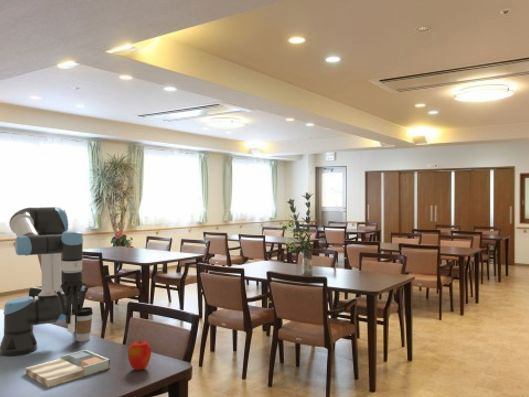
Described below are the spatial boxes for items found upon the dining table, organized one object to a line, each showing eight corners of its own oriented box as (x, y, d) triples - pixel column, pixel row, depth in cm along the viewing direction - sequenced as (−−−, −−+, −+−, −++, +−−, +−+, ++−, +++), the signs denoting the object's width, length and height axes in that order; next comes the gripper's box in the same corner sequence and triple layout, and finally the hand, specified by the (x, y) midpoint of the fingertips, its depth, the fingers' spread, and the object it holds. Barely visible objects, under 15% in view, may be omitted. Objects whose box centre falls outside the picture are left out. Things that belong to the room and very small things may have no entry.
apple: (122, 370, 184) (122, 340, 184) (140, 364, 191) (140, 335, 191) (138, 375, 178) (138, 344, 178) (155, 368, 186) (156, 339, 186)
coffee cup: (96, 338, 225) (96, 308, 225) (81, 343, 218) (81, 311, 218) (85, 336, 229) (85, 306, 229) (70, 340, 222) (70, 309, 222)
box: (60, 364, 190) (60, 356, 190) (85, 357, 198) (85, 349, 198) (84, 376, 178) (84, 367, 178) (109, 368, 186) (109, 359, 186)
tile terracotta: (81, 368, 184) (81, 360, 184) (95, 364, 189) (95, 357, 189) (89, 372, 181) (89, 364, 181) (102, 367, 185) (102, 360, 185)
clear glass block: (68, 362, 191) (69, 355, 191) (82, 358, 195) (82, 351, 195) (76, 365, 187) (76, 358, 187) (89, 362, 192) (89, 354, 192)
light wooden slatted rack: (25, 374, 179) (25, 367, 179) (60, 364, 190) (60, 358, 190) (48, 387, 167) (48, 380, 167) (84, 376, 178) (84, 369, 178)
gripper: (60, 274, 171) (59, 337, 171) (92, 270, 181) (91, 329, 181) (50, 271, 176) (50, 333, 176) (82, 268, 186) (82, 325, 186)
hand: (71, 331), depth 179 cm, fingers closed
